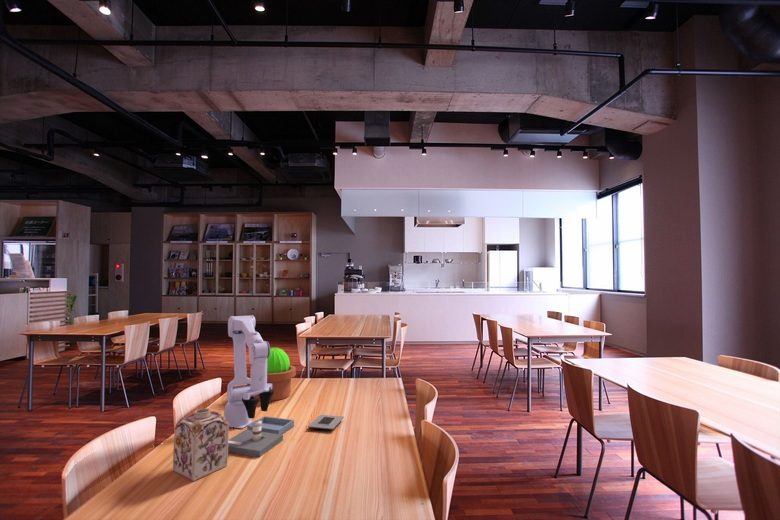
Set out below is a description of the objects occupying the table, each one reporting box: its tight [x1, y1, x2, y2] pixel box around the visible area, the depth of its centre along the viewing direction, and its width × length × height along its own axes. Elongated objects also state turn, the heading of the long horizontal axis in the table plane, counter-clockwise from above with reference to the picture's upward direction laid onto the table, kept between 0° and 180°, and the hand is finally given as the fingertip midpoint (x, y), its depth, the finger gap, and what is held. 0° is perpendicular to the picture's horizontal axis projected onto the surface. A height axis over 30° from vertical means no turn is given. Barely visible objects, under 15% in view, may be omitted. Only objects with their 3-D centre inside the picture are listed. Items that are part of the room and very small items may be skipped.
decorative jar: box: [172, 408, 230, 482], centre depth 119 cm, size 12×12×18 cm
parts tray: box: [246, 415, 295, 435], centre depth 150 cm, size 14×11×2 cm
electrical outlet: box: [307, 414, 345, 431], centre depth 154 cm, size 13×10×2 cm
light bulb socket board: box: [228, 429, 284, 458], centre depth 135 cm, size 16×14×2 cm
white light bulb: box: [251, 419, 262, 442], centre depth 136 cm, size 3×3×8 cm
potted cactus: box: [249, 346, 297, 402], centre depth 193 cm, size 22×22×25 cm
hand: (257, 414), depth 137 cm, fingers open, 7 cm apart
